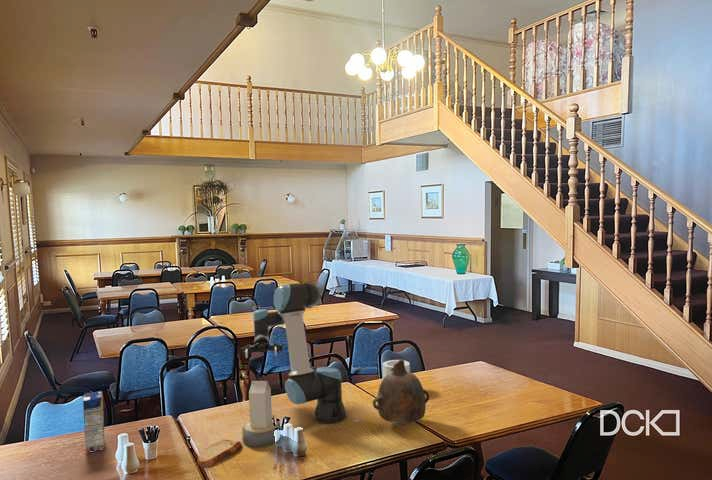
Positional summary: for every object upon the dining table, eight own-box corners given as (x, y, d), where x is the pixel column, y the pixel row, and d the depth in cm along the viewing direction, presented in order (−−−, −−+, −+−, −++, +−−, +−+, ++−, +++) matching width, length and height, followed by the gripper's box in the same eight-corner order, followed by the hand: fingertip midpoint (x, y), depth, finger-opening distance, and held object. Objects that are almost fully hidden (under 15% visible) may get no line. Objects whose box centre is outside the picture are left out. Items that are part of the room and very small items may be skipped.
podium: (287, 433, 214) (286, 420, 214) (268, 449, 199) (267, 434, 199) (255, 429, 220) (255, 416, 220) (235, 444, 205) (234, 430, 205)
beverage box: (85, 453, 202) (83, 401, 202) (87, 443, 212) (84, 393, 212) (104, 449, 205) (101, 397, 205) (104, 440, 215) (102, 390, 215)
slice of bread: (198, 469, 185) (197, 460, 185) (195, 450, 202) (195, 441, 202) (246, 460, 191) (245, 450, 191) (239, 442, 208) (239, 433, 208)
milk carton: (266, 428, 206) (264, 383, 205) (250, 428, 207) (248, 383, 206) (272, 422, 212) (270, 378, 212) (256, 421, 214) (254, 378, 213)
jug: (401, 411, 235) (398, 349, 234) (437, 422, 220) (435, 356, 219) (365, 427, 218) (363, 360, 217) (402, 440, 202) (399, 368, 202)
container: (397, 397, 255) (396, 369, 254) (376, 390, 267) (375, 363, 266) (418, 389, 265) (416, 363, 265) (396, 383, 277) (395, 358, 277)
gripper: (286, 348, 252) (288, 359, 231) (236, 353, 247) (234, 364, 226) (285, 334, 251) (287, 343, 231) (236, 338, 247) (233, 348, 226)
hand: (261, 353), depth 228 cm, fingers open, 13 cm apart
